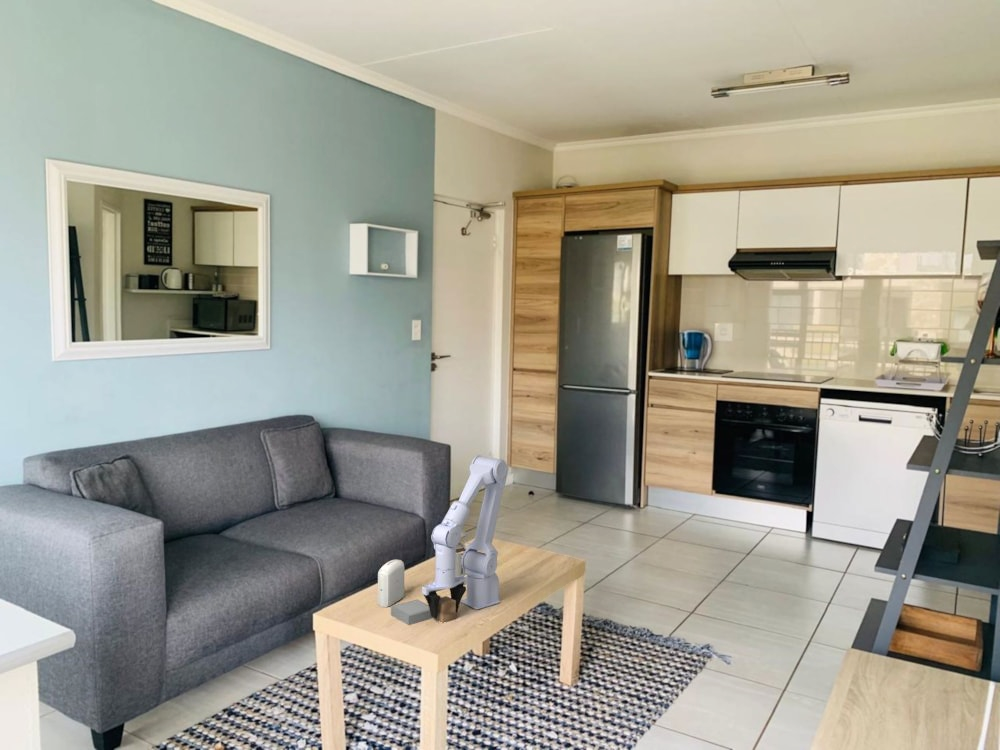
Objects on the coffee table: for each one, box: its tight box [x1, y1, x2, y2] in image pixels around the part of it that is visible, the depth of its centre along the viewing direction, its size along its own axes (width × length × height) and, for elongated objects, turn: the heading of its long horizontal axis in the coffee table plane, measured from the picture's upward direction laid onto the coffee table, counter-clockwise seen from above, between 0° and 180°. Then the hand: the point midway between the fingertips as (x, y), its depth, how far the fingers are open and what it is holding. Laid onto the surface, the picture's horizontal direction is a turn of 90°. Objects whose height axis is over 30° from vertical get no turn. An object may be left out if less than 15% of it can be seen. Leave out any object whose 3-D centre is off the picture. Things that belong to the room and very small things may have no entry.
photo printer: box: [377, 559, 405, 608], centre depth 222 cm, size 10×4×12 cm, turn 156°
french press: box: [452, 500, 469, 577], centre depth 247 cm, size 10×12×25 cm
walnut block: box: [433, 595, 457, 624], centre depth 211 cm, size 4×4×6 cm
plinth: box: [390, 598, 434, 626], centre depth 212 cm, size 9×9×2 cm
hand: (444, 613), depth 211 cm, fingers open, 7 cm apart
